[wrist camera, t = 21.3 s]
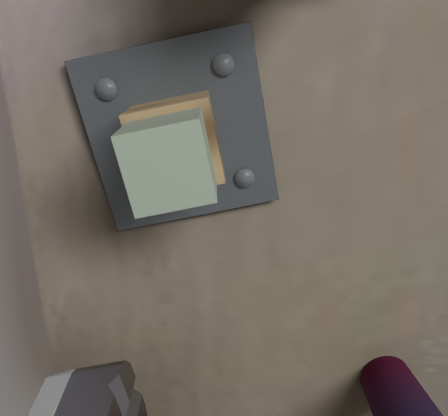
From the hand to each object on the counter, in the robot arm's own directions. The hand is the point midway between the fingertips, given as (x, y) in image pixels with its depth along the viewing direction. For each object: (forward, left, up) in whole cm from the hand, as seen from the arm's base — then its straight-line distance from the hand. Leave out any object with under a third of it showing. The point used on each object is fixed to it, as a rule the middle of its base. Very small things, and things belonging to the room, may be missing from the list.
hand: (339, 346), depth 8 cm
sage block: (0, +5, -22) cm, 22 cm away
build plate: (0, +5, -28) cm, 28 cm away
